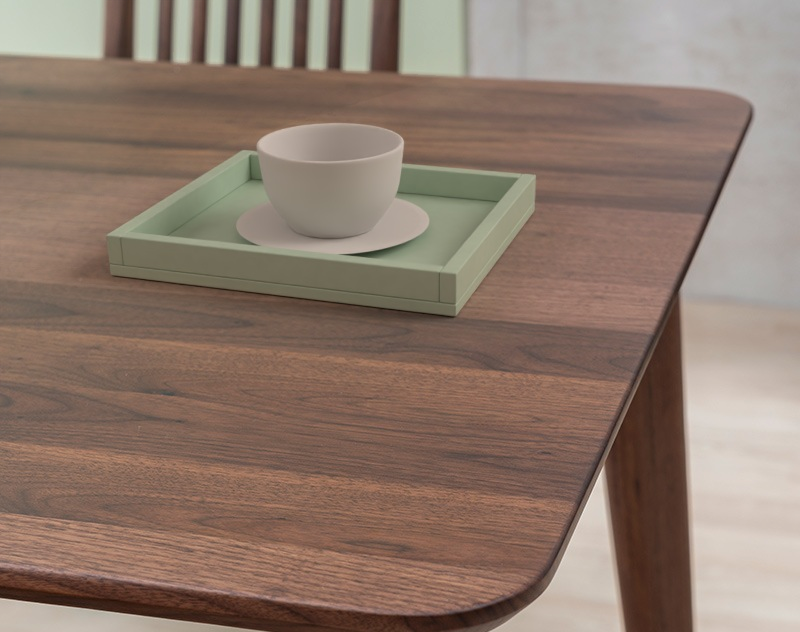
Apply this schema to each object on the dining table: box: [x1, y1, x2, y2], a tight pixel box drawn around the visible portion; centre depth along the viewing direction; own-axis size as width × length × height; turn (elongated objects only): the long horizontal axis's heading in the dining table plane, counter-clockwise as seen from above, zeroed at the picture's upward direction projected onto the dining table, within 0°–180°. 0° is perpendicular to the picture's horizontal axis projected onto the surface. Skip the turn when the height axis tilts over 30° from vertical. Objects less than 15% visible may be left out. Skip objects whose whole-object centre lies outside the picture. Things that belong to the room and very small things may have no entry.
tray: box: [105, 149, 537, 317], centre depth 65 cm, size 18×16×2 cm
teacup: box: [236, 122, 429, 255], centre depth 64 cm, size 10×10×5 cm
